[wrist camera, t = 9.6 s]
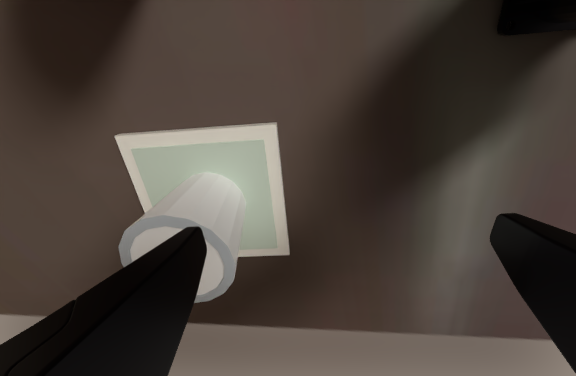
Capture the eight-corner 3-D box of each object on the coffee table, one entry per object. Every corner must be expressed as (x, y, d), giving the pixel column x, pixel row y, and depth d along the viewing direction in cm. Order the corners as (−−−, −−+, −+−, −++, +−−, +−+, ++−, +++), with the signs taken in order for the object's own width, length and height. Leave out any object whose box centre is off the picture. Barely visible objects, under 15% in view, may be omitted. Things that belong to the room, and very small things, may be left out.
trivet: (276, 122, 19) (275, 125, 18) (289, 250, 25) (289, 256, 24) (119, 133, 20) (112, 137, 19) (166, 255, 26) (162, 261, 25)
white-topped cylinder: (264, 182, 21) (249, 240, 14) (240, 246, 24) (220, 316, 17) (177, 151, 20) (121, 199, 14) (164, 222, 23) (113, 287, 17)
